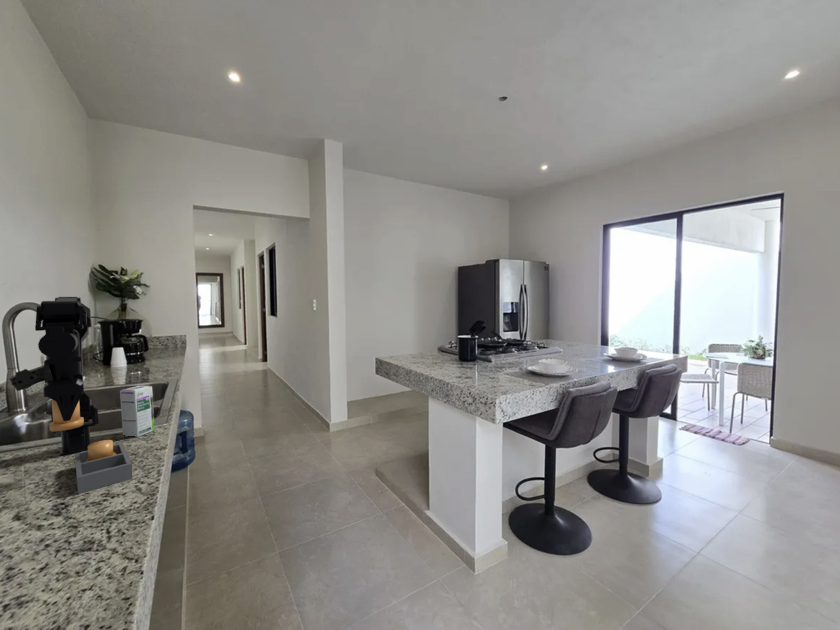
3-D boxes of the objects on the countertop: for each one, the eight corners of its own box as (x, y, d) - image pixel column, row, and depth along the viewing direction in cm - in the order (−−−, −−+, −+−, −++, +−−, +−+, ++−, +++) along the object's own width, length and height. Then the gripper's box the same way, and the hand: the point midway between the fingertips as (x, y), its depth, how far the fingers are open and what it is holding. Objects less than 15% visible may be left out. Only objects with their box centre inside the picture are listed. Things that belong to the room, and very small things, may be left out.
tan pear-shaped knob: (50, 427, 85) (48, 398, 84) (83, 421, 89) (82, 393, 88) (49, 433, 80) (47, 402, 80) (84, 426, 84) (82, 397, 84)
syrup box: (137, 437, 107) (135, 390, 106) (121, 436, 108) (119, 389, 108) (155, 430, 113) (153, 385, 112) (140, 429, 114) (137, 384, 113)
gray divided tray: (75, 467, 88) (74, 443, 88) (123, 455, 94) (122, 433, 94) (78, 494, 76) (76, 466, 75) (132, 478, 82) (131, 453, 82)
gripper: (16, 354, 85) (20, 418, 86) (5, 362, 72) (10, 438, 72) (81, 349, 93) (84, 408, 93) (81, 355, 79) (85, 424, 80)
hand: (67, 418), depth 84 cm, fingers closed on tan pear-shaped knob, 5 cm apart
